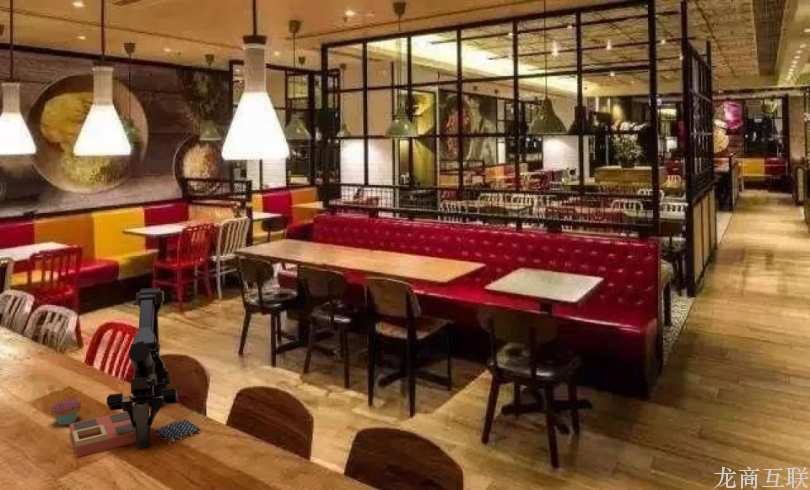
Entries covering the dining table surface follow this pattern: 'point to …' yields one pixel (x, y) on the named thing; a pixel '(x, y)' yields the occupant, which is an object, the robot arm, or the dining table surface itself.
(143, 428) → the stool leg
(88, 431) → the pink control box
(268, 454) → the dining table surface
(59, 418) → the cupcake
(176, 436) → the woven mat
